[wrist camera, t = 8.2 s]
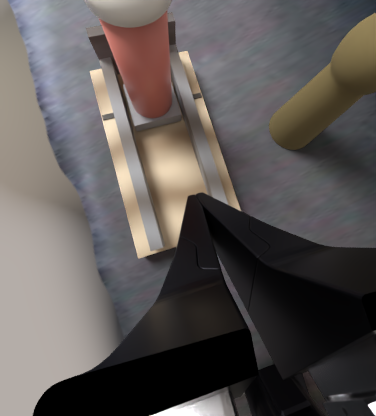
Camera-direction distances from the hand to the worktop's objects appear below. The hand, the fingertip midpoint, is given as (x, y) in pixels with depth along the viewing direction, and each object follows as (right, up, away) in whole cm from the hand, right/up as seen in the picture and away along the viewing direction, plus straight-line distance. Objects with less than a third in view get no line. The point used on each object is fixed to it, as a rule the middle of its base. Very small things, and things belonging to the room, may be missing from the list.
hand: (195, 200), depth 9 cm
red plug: (-4, +11, +10) cm, 15 cm away
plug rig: (-3, +6, +11) cm, 14 cm away
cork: (+13, +10, +13) cm, 21 cm away
